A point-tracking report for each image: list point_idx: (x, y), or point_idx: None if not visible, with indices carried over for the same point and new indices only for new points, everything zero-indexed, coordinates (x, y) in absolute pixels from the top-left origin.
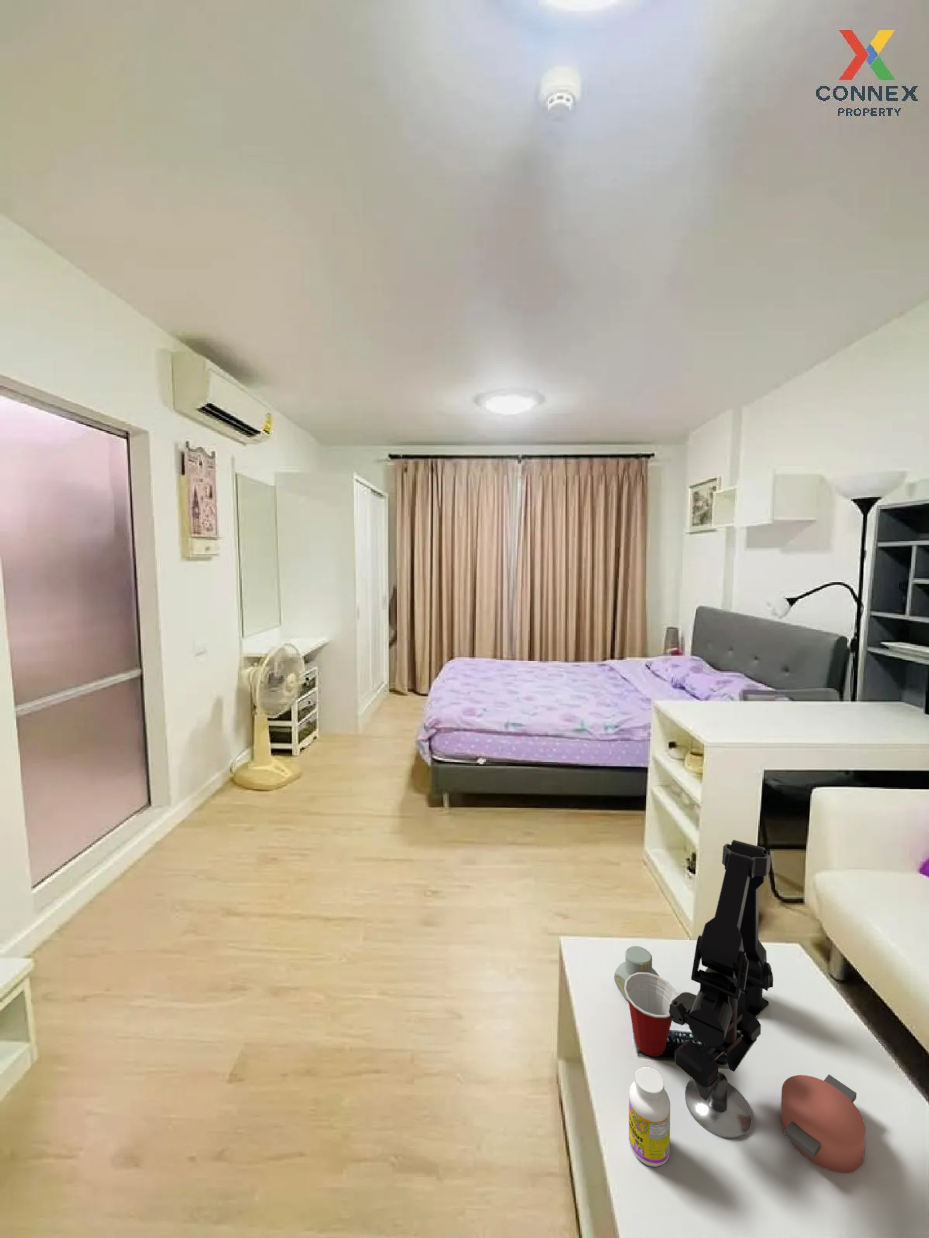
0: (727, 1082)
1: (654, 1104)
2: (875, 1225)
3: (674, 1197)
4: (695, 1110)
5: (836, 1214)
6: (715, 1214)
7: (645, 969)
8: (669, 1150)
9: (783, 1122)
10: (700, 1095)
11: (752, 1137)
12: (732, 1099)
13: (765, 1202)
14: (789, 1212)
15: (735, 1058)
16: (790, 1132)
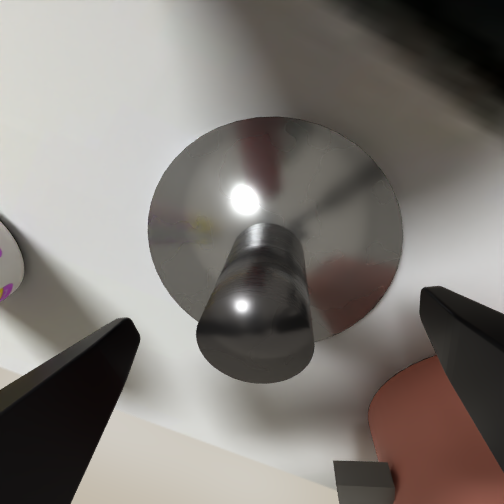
0: (286, 376)
1: None
2: None
3: (10, 338)
4: (165, 238)
5: (304, 466)
6: None
7: None
8: (6, 296)
9: (406, 391)
10: (114, 321)
11: None
12: (337, 270)
13: (194, 413)
14: (225, 435)
15: (498, 428)
16: (346, 491)
